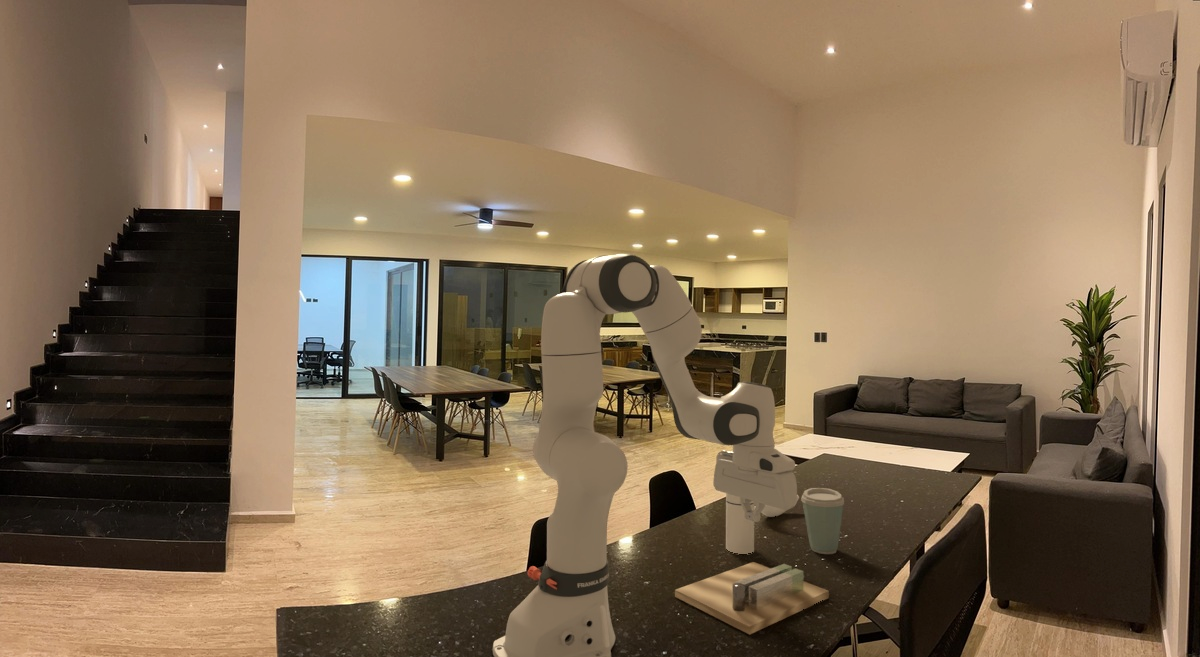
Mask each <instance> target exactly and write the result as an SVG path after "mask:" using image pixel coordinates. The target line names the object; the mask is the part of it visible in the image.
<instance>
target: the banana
mask: <svg viewBox="0 0 1200 657" xmlns="http://www.w3.org/2000/svg"><path fill="white" fill-rule="evenodd" d="M799 499H800V496H799V494H797V502H798V501H799ZM787 511H789V509H787V510H782V509H779V508H776V507H772V506H769V505H765V507H764V509H763V510H762V512H761V513H760V514H762V515H764V516H766V517H768V518H776V517H778V516H780V515H783V513H785V512H787ZM775 516H776V517H775Z"/></svg>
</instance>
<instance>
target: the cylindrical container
mask: <svg viewBox="0 0 1200 657" xmlns="http://www.w3.org/2000/svg"><path fill="white" fill-rule="evenodd" d="M727 451H728V452H733V450H727ZM749 503H750V506H751V509H752V511H754V510H755V506H754V501H751V502H749ZM726 549H727V550H728V551H730V552H733V553H732V554H734V553H738V554H737V555H739V554H747V555H749V554H748V553H751V554H753V553H754V552H755V522H754V521H751V520H748V519H745V518H744V510H743V507H742V505H741V503H740V497H738V496H734V495H731V494H727V493H725V550H726ZM727 550H726V551H727ZM728 551H727V552H728ZM730 552H729V553H730ZM752 552H753V553H752Z"/></svg>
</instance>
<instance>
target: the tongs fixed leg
mask: <svg viewBox="0 0 1200 657" xmlns="http://www.w3.org/2000/svg"><path fill="white" fill-rule="evenodd" d="M803 581H804V570H802V569H798V568H792V570H790V571H787V572H785V573H782V574H780V575H777V576H775V577H772V578H769V579H767V580H764V581H762V582H759V583H757V584H754V585H751V586H749V607H751V608H753V609H756V610H758V609H760V608H763V607H765V606H767V605H770V604H772V603H774V602H777V601H779V600H781V599H784V598H786V597H788V596H791V595H793V594H795V593H798V592H800V591H802V590H803Z"/></svg>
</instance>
